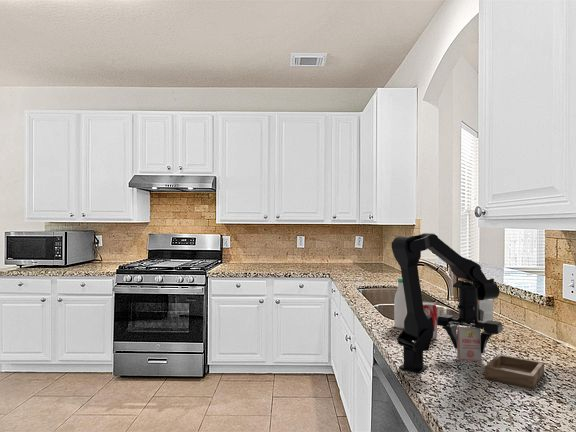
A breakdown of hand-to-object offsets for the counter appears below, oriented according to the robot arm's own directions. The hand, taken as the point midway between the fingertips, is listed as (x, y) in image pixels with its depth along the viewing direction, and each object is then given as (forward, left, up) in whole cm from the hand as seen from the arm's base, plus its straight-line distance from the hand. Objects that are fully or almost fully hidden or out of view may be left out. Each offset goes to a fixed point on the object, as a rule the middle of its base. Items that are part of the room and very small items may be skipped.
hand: (469, 350), depth 138 cm
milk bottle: (+25, +34, -3) cm, 42 cm away
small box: (+52, +11, -3) cm, 54 cm away
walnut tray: (-8, -15, -3) cm, 17 cm away
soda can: (+15, +20, -3) cm, 25 cm away
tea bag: (0, 0, -3) cm, 3 cm away
